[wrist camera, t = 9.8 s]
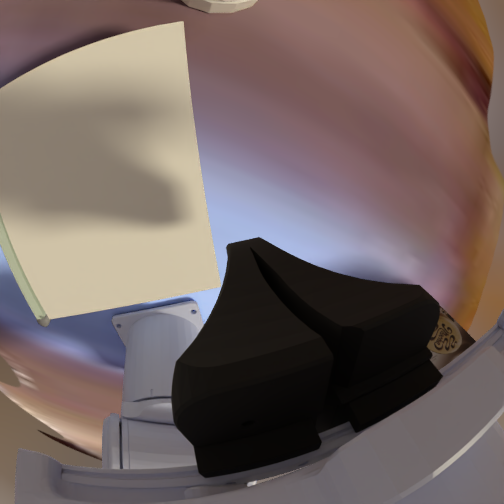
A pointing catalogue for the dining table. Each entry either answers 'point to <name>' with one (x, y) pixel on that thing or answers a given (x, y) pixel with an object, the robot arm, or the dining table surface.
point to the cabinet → (106, 176)
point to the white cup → (220, 5)
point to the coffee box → (448, 340)
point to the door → (21, 277)
